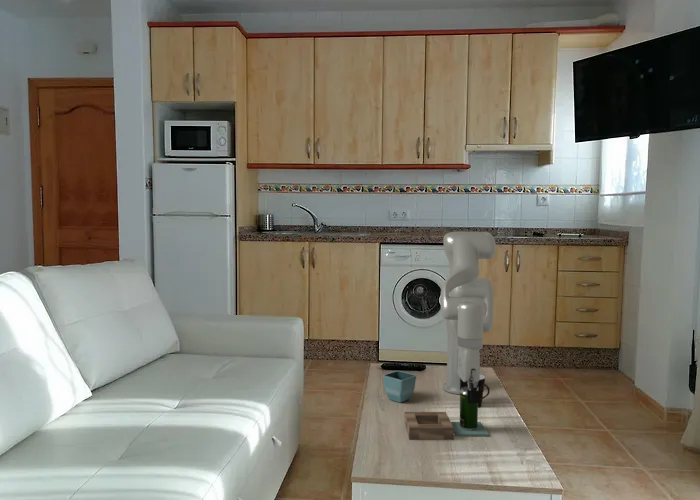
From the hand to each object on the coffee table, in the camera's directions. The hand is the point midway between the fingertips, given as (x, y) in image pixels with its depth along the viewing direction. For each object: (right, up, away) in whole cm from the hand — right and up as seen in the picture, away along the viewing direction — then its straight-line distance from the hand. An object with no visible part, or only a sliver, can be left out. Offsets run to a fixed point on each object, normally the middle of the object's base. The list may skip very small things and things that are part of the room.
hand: (468, 397), depth 163 cm
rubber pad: (0, -10, 0) cm, 10 cm away
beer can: (0, -10, 0) cm, 10 cm away
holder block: (-13, -10, -1) cm, 16 cm away
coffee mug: (+6, -9, +21) cm, 24 cm away
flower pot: (-19, -9, +27) cm, 34 cm away
